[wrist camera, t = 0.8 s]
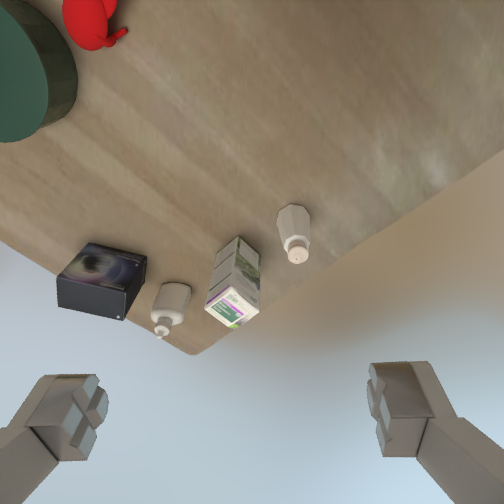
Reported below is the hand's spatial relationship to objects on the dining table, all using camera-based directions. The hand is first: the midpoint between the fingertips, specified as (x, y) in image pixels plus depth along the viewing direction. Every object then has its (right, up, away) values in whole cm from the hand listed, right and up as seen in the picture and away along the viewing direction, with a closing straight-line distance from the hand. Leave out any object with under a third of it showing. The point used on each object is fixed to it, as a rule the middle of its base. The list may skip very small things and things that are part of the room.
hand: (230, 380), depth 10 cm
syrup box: (-2, +4, +48) cm, 48 cm away
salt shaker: (+7, +9, +44) cm, 45 cm away
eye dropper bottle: (-14, -3, +53) cm, 55 cm away
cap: (-17, +32, +30) cm, 48 cm away
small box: (-24, +2, +50) cm, 55 cm away
